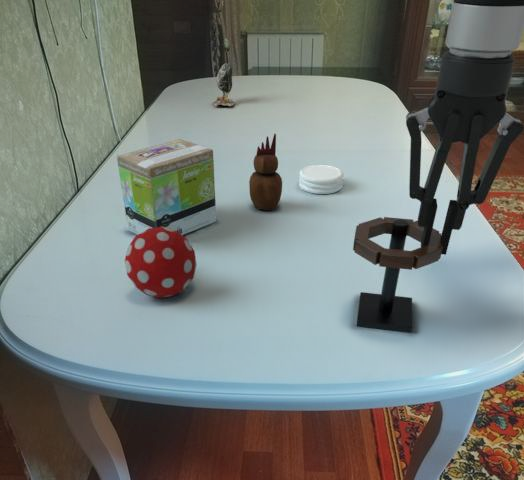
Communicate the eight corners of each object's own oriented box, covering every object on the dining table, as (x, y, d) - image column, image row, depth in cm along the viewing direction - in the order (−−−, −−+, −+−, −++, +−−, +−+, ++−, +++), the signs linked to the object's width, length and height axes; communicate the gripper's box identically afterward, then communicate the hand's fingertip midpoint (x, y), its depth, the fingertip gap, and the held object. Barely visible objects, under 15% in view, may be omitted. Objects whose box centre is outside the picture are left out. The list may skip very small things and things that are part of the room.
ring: (437, 233, 74) (439, 221, 73) (441, 273, 65) (444, 260, 64) (357, 225, 76) (358, 214, 74) (350, 263, 67) (352, 251, 66)
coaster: (345, 194, 113) (347, 179, 111) (301, 195, 113) (302, 180, 111) (337, 178, 121) (339, 163, 119) (296, 179, 121) (297, 164, 118)
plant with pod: (240, 101, 179) (238, 35, 166) (231, 109, 171) (228, 40, 158) (218, 99, 181) (214, 34, 168) (208, 107, 172) (203, 39, 159)
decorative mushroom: (138, 211, 86) (144, 215, 73) (197, 240, 90) (213, 249, 77) (112, 270, 88) (113, 285, 74) (171, 296, 92) (182, 314, 78)
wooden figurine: (283, 203, 110) (285, 130, 100) (278, 214, 105) (279, 139, 96) (253, 200, 111) (252, 128, 101) (247, 211, 107) (245, 137, 97)
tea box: (159, 248, 94) (148, 168, 85) (127, 231, 99) (113, 155, 90) (218, 222, 103) (214, 147, 93) (186, 208, 108) (178, 136, 99)
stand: (411, 302, 80) (430, 212, 70) (411, 332, 74) (433, 238, 64) (359, 297, 81) (372, 208, 72) (356, 326, 75) (369, 233, 66)
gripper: (546, 47, 56) (486, 241, 71) (408, 43, 58) (379, 231, 73) (562, 60, 50) (493, 268, 65) (409, 54, 53) (377, 256, 68)
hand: (433, 248), depth 69 cm, fingers closed on ring, 2 cm apart
